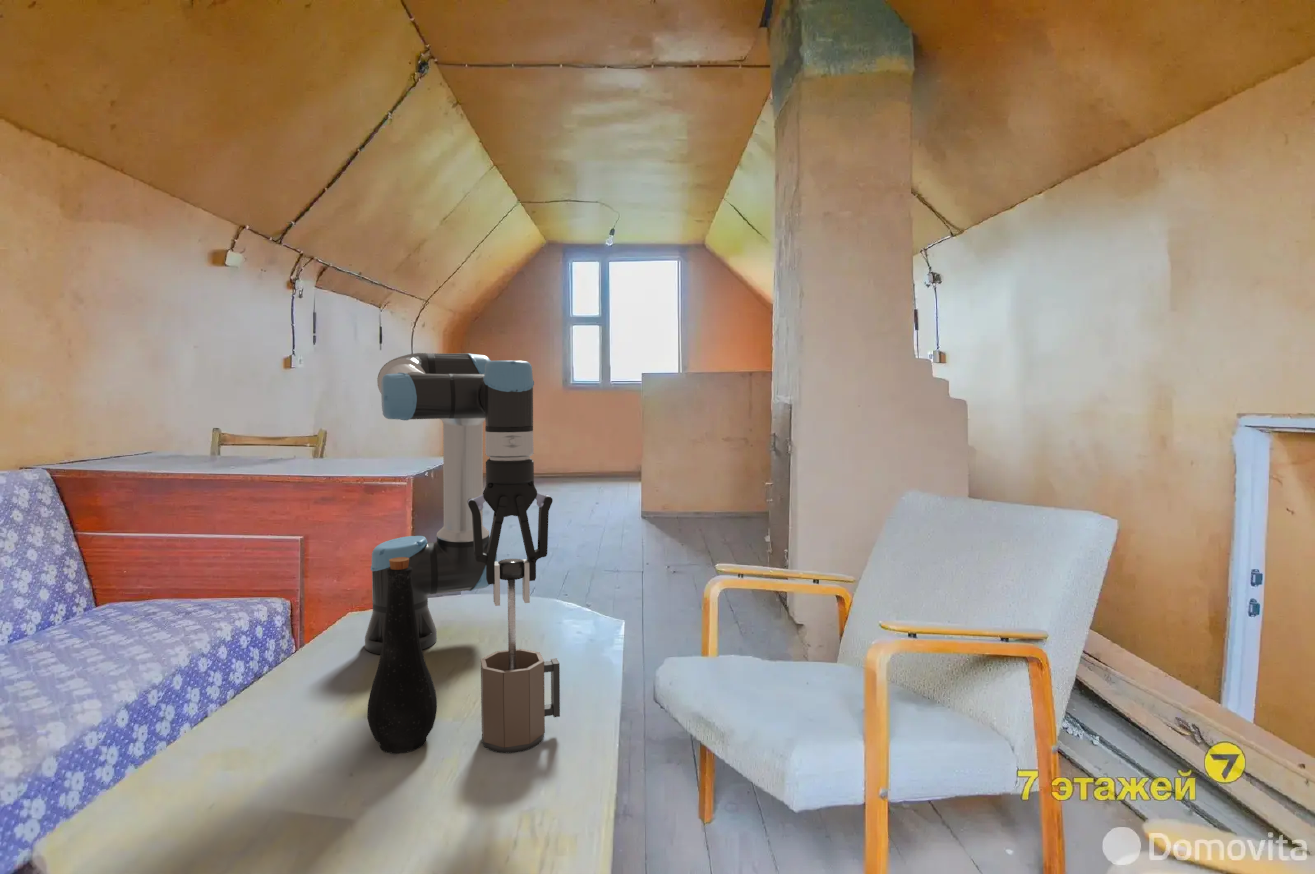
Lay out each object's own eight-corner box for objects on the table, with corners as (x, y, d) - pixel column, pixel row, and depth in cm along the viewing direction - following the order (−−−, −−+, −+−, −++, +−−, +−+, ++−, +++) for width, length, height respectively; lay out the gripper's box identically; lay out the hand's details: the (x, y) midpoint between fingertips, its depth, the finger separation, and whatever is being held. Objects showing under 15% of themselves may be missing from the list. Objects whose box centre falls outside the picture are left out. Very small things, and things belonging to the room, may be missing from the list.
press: (479, 728, 122) (478, 652, 121) (553, 717, 126) (552, 644, 125) (484, 757, 112) (483, 675, 111) (564, 744, 116) (564, 665, 115)
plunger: (489, 682, 120) (487, 558, 119) (530, 677, 122) (529, 555, 121) (493, 699, 114) (491, 568, 112) (536, 693, 116) (535, 564, 114)
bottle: (416, 762, 111) (411, 569, 109) (354, 755, 113) (348, 565, 111) (449, 730, 121) (446, 553, 119) (392, 724, 123) (387, 550, 121)
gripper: (455, 461, 109) (458, 613, 111) (567, 458, 114) (568, 603, 116) (453, 457, 116) (455, 600, 118) (558, 454, 122) (559, 591, 123)
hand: (511, 601), depth 117 cm, fingers closed on plunger, 4 cm apart
